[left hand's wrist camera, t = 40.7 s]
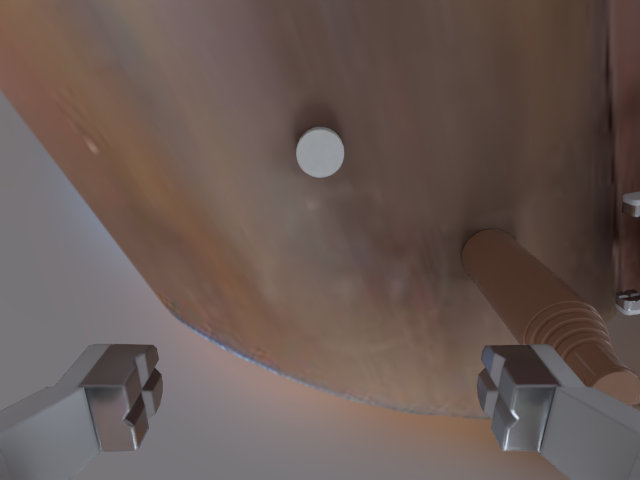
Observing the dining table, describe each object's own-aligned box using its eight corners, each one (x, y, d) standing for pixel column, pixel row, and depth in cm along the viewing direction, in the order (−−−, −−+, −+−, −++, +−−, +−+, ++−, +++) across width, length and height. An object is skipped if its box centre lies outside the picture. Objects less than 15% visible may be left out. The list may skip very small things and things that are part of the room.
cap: (314, 182, 40) (313, 187, 39) (287, 143, 39) (285, 147, 37) (352, 156, 39) (354, 160, 38) (326, 116, 38) (326, 118, 36)
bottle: (453, 242, 43) (556, 373, 24) (507, 220, 42) (656, 339, 23) (470, 286, 44) (578, 440, 26) (522, 266, 44) (672, 410, 25)
